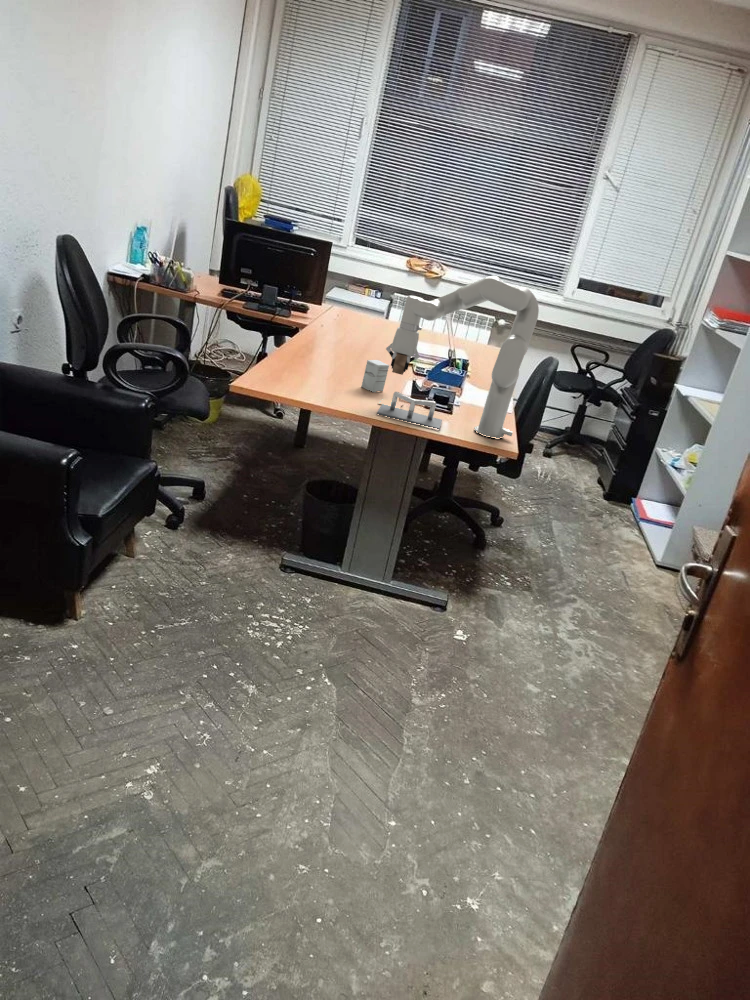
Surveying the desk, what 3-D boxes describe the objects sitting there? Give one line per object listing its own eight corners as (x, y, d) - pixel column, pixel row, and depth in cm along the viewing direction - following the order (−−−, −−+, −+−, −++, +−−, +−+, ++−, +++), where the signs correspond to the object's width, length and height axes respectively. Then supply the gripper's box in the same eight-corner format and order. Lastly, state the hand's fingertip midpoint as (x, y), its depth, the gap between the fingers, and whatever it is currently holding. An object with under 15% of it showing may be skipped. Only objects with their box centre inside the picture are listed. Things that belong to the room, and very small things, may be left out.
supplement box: (360, 387, 338) (366, 359, 333) (372, 386, 343) (378, 359, 338) (371, 392, 334) (378, 365, 329) (383, 392, 339) (389, 364, 334)
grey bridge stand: (432, 419, 312) (436, 401, 309) (430, 423, 306) (435, 405, 303) (390, 408, 313) (394, 390, 310) (387, 412, 307) (392, 394, 304)
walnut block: (403, 372, 320) (408, 354, 316) (402, 374, 315) (407, 356, 312) (393, 369, 320) (398, 351, 317) (392, 372, 316) (396, 353, 313)
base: (441, 422, 315) (442, 419, 315) (438, 431, 303) (439, 428, 303) (381, 406, 317) (382, 404, 316) (376, 414, 305) (377, 411, 304)
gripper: (429, 330, 313) (419, 373, 320) (390, 320, 314) (380, 362, 321) (428, 333, 306) (417, 376, 313) (387, 323, 307) (377, 366, 314)
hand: (398, 369), depth 317 cm, fingers closed on walnut block, 4 cm apart
